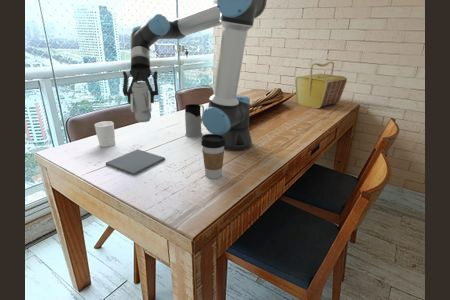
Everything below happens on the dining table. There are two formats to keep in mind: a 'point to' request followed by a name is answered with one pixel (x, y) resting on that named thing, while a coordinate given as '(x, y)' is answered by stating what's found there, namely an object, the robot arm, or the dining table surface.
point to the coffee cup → (213, 154)
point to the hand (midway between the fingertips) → (141, 110)
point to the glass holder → (193, 120)
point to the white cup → (105, 133)
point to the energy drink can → (141, 101)
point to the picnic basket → (319, 88)
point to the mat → (135, 161)
